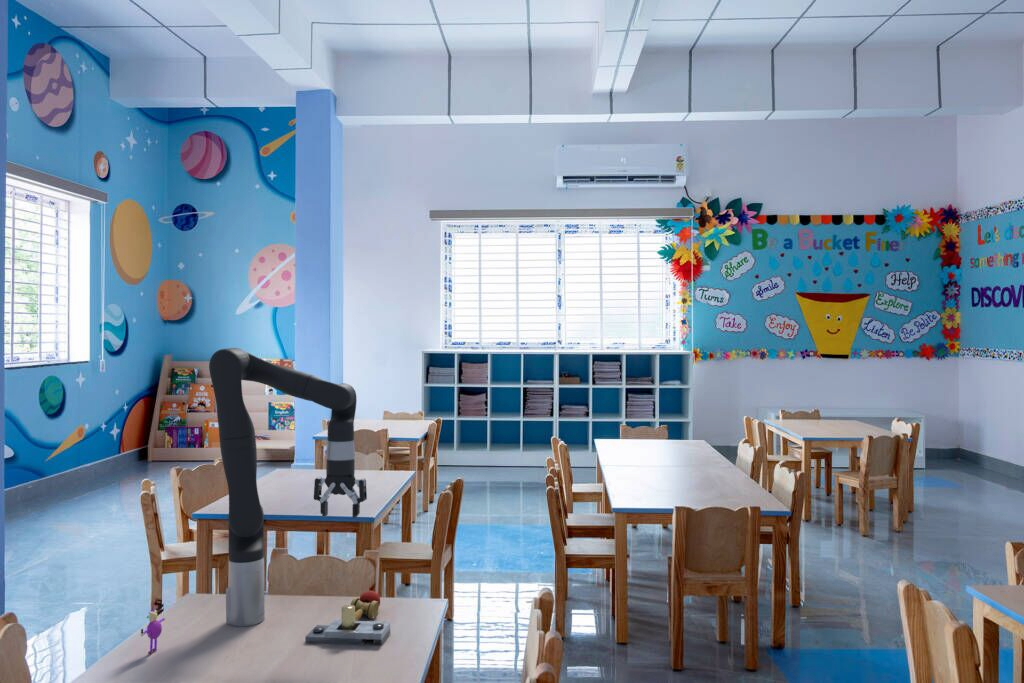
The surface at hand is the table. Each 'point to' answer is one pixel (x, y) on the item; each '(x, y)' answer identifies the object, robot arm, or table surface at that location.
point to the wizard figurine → (153, 627)
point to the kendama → (366, 604)
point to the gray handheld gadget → (350, 633)
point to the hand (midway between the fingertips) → (340, 516)
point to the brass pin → (348, 617)
